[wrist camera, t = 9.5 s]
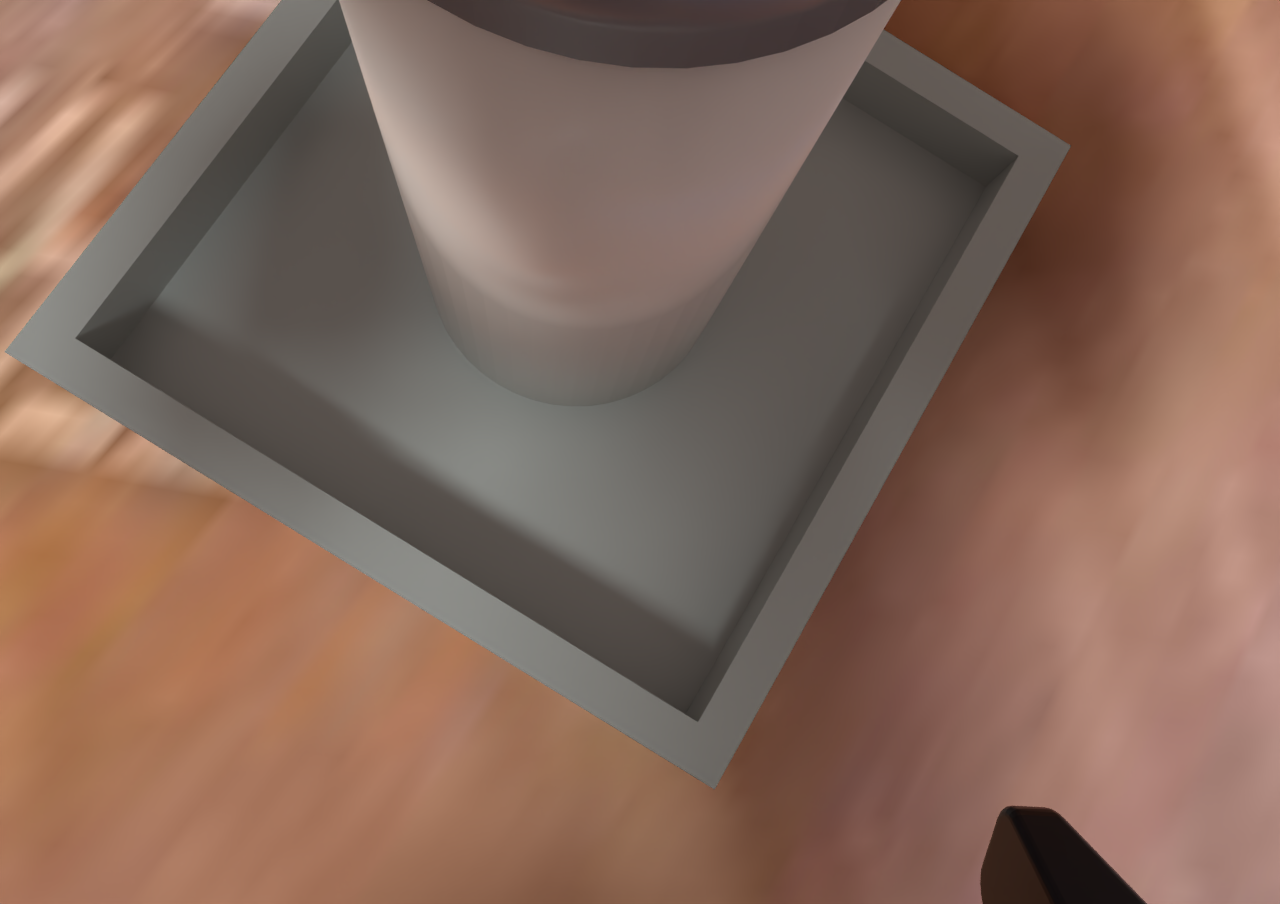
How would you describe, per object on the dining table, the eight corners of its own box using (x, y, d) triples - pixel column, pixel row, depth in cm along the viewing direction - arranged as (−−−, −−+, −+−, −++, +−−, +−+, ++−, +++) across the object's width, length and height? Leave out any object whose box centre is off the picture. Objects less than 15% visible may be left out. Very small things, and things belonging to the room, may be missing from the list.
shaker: (752, 376, 19) (1207, -116, 6) (459, 440, 18) (283, 28, 5) (681, 106, 20) (952, -831, 7) (396, 156, 19) (109, -800, 6)
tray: (693, 769, 19) (714, 789, 16) (66, 382, 19) (4, 351, 16) (1016, 193, 21) (1071, 146, 19) (471, -145, 21) (463, -231, 19)
